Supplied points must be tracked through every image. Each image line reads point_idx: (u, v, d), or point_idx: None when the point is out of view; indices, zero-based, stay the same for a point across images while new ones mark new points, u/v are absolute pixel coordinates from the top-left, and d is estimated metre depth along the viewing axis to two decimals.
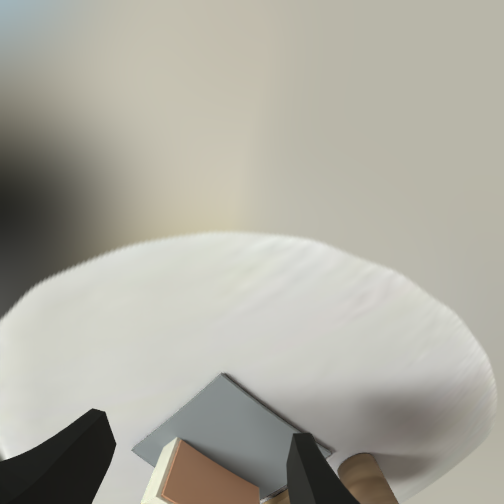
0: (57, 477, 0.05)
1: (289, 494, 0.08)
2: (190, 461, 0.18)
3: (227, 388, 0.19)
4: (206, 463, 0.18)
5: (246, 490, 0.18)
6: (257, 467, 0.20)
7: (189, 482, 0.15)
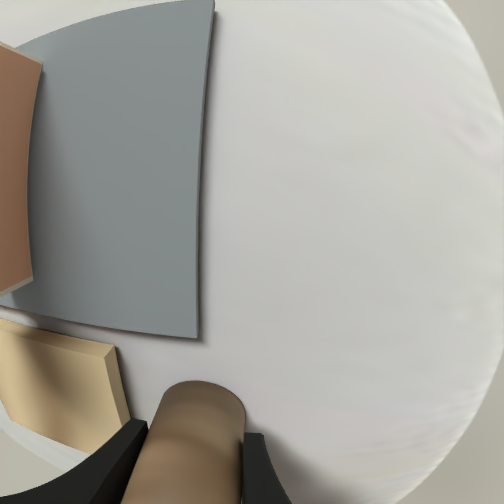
0: (106, 496, 0.05)
1: None
2: (8, 84, 0.06)
3: (195, 20, 0.07)
4: (17, 124, 0.07)
5: (7, 245, 0.08)
6: (64, 228, 0.09)
7: None
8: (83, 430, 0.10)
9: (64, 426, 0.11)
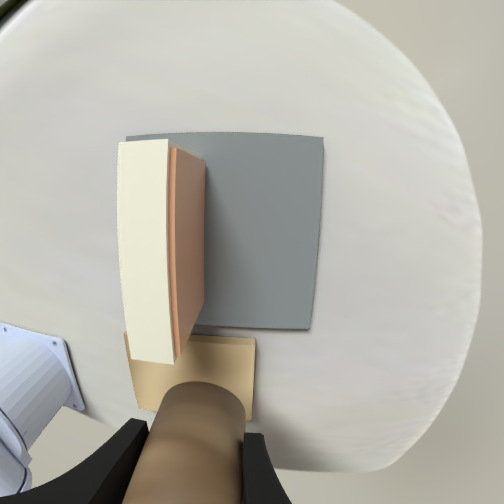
0: (106, 496, 0.05)
1: None
2: (199, 183, 0.15)
3: (314, 153, 0.16)
4: (202, 208, 0.16)
5: (200, 285, 0.17)
6: (233, 272, 0.18)
7: (190, 190, 0.13)
8: None
9: None
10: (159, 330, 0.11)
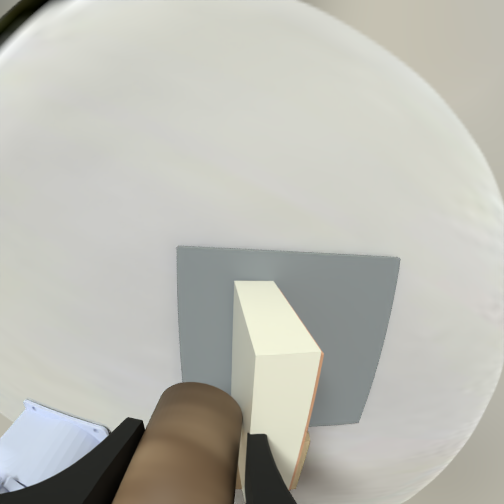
0: (101, 494, 0.05)
1: (245, 494, 0.08)
2: None
3: (389, 276, 0.15)
4: None
5: None
6: None
7: None
8: None
9: None
10: None
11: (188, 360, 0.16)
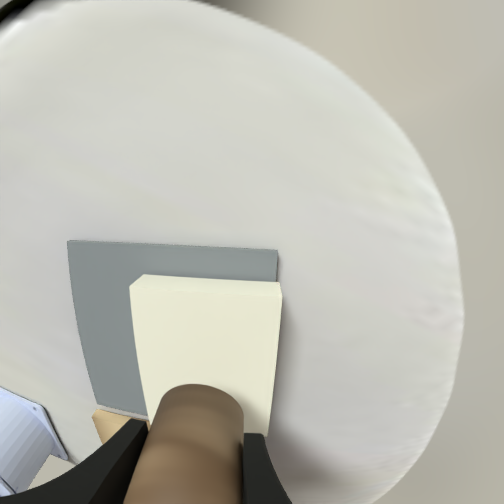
0: (105, 495, 0.05)
1: None
2: None
3: (266, 271, 0.15)
4: None
5: None
6: None
7: None
8: None
9: None
10: None
11: (86, 344, 0.16)
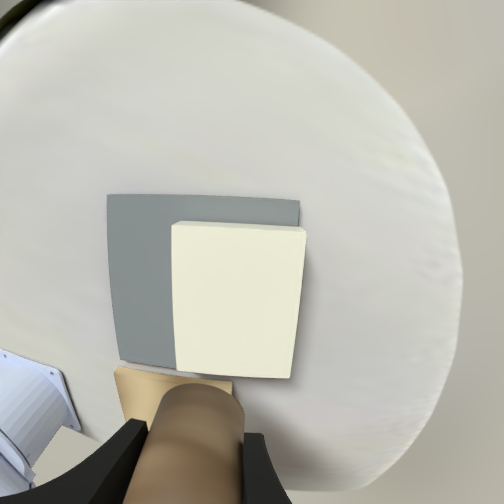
0: (106, 495, 0.05)
1: None
2: None
3: (289, 218, 0.17)
4: None
5: None
6: None
7: None
8: None
9: None
10: None
11: (117, 295, 0.18)
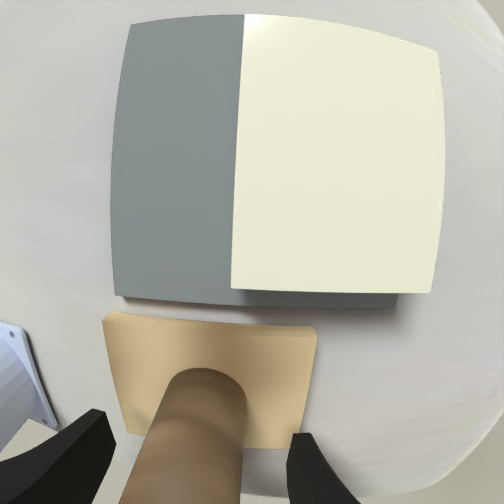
0: (57, 477, 0.05)
1: (289, 494, 0.08)
2: None
3: None
4: None
5: None
6: None
7: None
8: (250, 423, 0.12)
9: None
10: None
11: (121, 167, 0.11)
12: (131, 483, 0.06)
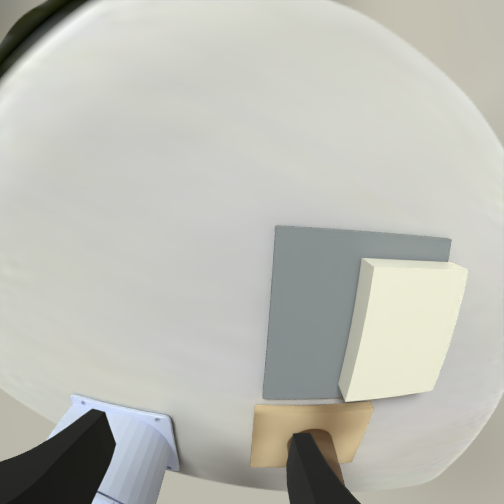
0: (57, 477, 0.05)
1: (289, 494, 0.08)
2: None
3: (443, 254, 0.17)
4: None
5: None
6: None
7: None
8: None
9: None
10: None
11: (275, 335, 0.18)
12: None
